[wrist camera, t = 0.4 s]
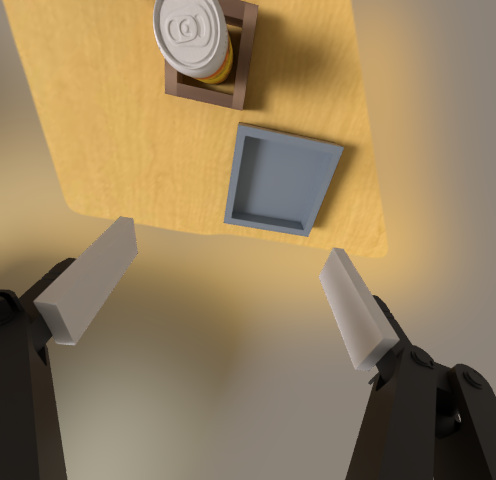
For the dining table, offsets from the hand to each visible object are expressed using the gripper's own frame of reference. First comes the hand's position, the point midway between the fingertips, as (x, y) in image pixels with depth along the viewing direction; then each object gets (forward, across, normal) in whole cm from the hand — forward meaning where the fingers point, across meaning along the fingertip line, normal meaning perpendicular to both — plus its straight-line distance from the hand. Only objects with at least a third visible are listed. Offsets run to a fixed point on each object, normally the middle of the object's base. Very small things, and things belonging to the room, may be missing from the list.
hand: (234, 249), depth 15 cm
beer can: (+27, -6, +12) cm, 30 cm away
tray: (+27, +7, -3) cm, 28 cm away
